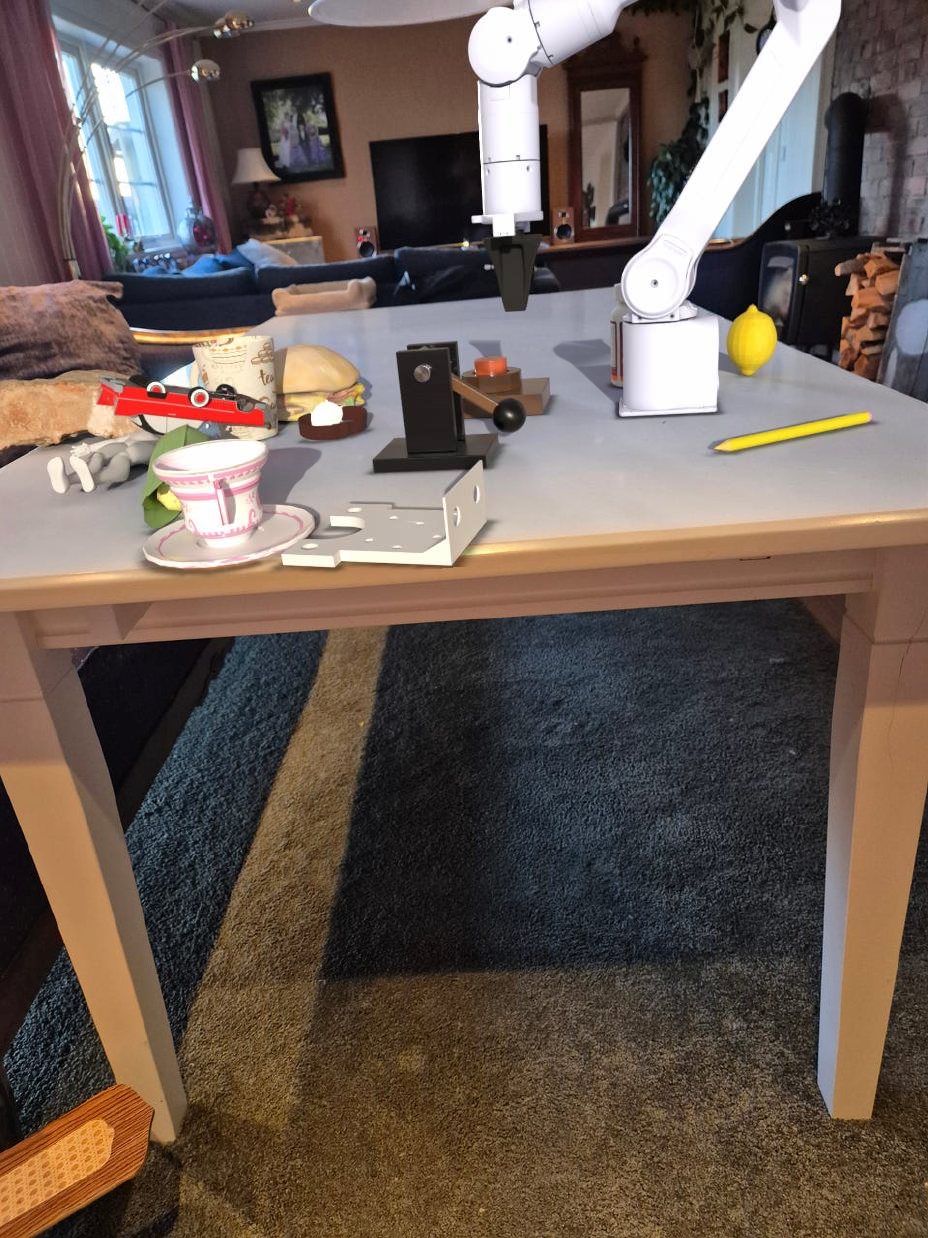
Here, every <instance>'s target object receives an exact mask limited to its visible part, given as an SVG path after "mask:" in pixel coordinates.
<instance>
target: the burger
mask: <svg viewBox="0 0 928 1238" xmlns="http://www.w3.org/2000/svg"><path fill="white" fill-rule="evenodd" d="M274 355H275V375H276V395H277V415H278V422H281V421H283V422H298V418H299V417H300V416H302V415H305V414H308V413H310V412H313V410H314V409H315V408H316V407H317V406H318V405H319V404H320V403H322V402H325V400H326V399H327V400H328V401H330V402H333V403H335V404H336V405H338V406H339V407H341V406H362V405H364V404H365V402H366V401H365V400H364V399H363V398H362V396H363V394H364V393H365V391H366V387H365V385H364V384H363V383H361V382H359V379H360V378H361V372H360V370H359V369H357V368H356V367H355V366H354V364H353V363H352V362H351V361H350V360H348V359H347V358H346V357H345V356H343V355H341V354H340V353H338V352H337V351H335V350H333V349H331V348H330V347H326V346H324V345H320V344H315V343H301V344H294V345H291V346H285V347H282V348H279V349H277V350H274Z"/></svg>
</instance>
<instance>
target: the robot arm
mask: <svg viewBox="0 0 928 1238" xmlns="http://www.w3.org/2000/svg"><path fill="white" fill-rule="evenodd" d="M638 1H639V0H513V1H512V5H513V9H512V8H509V7H506V6H494V7H491V8H490V9H488V11H487V12H486V13H485V14H484V15H483V16H482V17H480V19H478V20H477V22H476V24H474V26H473V28H472V29H471V32H470V36H469V39H468V45H467V46H468V47H467V53H468V60H469V64H470V65H471V68H472V70H473V72H474V73H475V74H476V75H477V77H479V78H480V79H479V80H477V88H478V89H477V91H478V129H479V132H478V133H479V151H480V165H481V191H482V193H481V194H482V210H483V213H482V214H481V215H472V216H471V223H472V224H482V225H492V235H493V236H492V237H483V238H482V245H483V247H484V249H485V251H486V252H487V254H488V256H489V259H490V261H491V263H492V267H493V269H494V272H495V276H496V279H497V284H498V288H499V294H500V299H501V302H502V307H503V309H504V312H505V313H511V312H513V313H514V312H515V313H516V312H525V311H526V310H527V308H528V304H529V297H530V288H531V283H532V275H533V269H534V264H535V260H536V258H537V257H536V256H537V254H538V251H539V248H540V246H541V243H542V240H543V233H533V234H532V233H530V232H531V222H536V221H543V220H544V211H543V210H542V198H541V197H542V196H541V195H542V194H541V161H540V160H541V158H540V157H541V154H540V152H541V151H540V114H539V112H540V111H539V105H538V81H537V80H538V79H539V77H540V75H542V72H543V68H544V67H546V68H548V69H550V68H552V67H554V66H555V65H557V64H559V63H561V62H563V61H564V60H566V59H568V58H569V57H571V56H574V55H575V54H576V53H578V52H580V51H582V50H584V49H586V48H587V47H589V46H591V45H593V44H595V43H596V42H599V41H600V40H601V39H604V38H605V37H608V35H610V34H612V33H613V32H614V29H615V27H616V24H617V22H618V20H619V19H618V18H619V16H620V15H621V12H622V11H623V9H624V8H627V7H628V6H630V5H632V4H634V3H636V2H638ZM772 2H773V6H774V11H775V17H776V23H775V25H774V27H773V29H772V31H771V32H770V34H769V36H768V38H767V39H766V41H765V43H764V45H763V47H762V48H761V50H760V52H759V54H758V56H757V57H756V58H755V61H754V62H753V65H752V66H751V68H750V70H749V72H748V73H747V75H746V77H745V79H744V80H743V82H742V84H741V85H740V88H739V89H738V90H737V93H736V95H735V96H734V98H733V99H732V101H731V103H730V105H729V107H728V109H727V110H726V113H725V114H724V116H723V118H722V119H721V121H720V123H719V125H718V126H717V128H716V131H715V132H714V134H713V136H712V137H711V139H710V141H709V142H708V144H707V146H706V148H705V150H704V151H703V152H702V153H703V154H702V155H701V157H700V158H699V161H698V162H697V164H696V166H695V167H694V169H693V171H692V173H691V175H690V176H689V178H688V180H687V182H686V183H685V185H684V187H683V189H682V191H681V193H680V194H679V196H678V198H677V200H676V202H675V203H674V205H673V206H672V208H671V210H670V211H669V212H668V214H667V215H666V217H665V218H664V220H663V222H662V223H661V225H660V226H659V227H658V229H657V231H656V233H655V234H654V236H653V237H652V239H651V241H650V242H649V243H648V244H647V245H646V246H645V247H644V248H643V249H641V250H640V251H638V252H637V253H636V254H634V255H633V257H631V258H630V259H629V260H628V262H627V264H626V265H625V267H624V269H623V272H622V275H621V279H620V283H621V292H622V296H623V299H624V301H625V303H626V304H627V306H628V307H629V308H630V309H631V310H630V312H629V313H627V314H624V315H623V320H624V321H623V387H622V395H623V396H621V397H620V398H619V407H618V409H619V410H618V413H619V417H624V418H625V417H644V416H662V415H665V416H666V415H681V414H683V415H684V414H704V413H716V412H718V406H717V405H718V392H719V389H720V375H719V353H720V328H719V327H720V326H719V318H718V316H717V315H698V308H697V307H695V306H694V305H693V304H692V302H691V301H690V300H688V299H687V298H688V297H689V296H690V294H691V292H692V291H693V289H694V286H695V284H696V279H697V272H698V265H699V262H700V260H701V258H702V255H703V254H704V252H705V251H706V249H707V248H708V245H709V244H710V242H711V240H712V238H713V236H714V235H715V232H716V231H717V229H718V227H719V225H720V224H721V222H722V220H723V219H724V217H725V215H726V213H727V212H728V211H729V209H730V207H731V205H732V204H733V202H734V200H735V199H736V197H737V196H738V193H739V192H740V190H741V189H742V187H743V186H744V183H745V182H746V180H747V178H748V177H749V175H750V174H751V172H752V170H753V169H754V167H755V165H756V164H757V162H758V160H759V159H760V157H761V156H762V153H764V150H765V148H766V147H767V145H768V143H769V142H770V141H771V138H772V137H773V135H774V133H775V132H776V130H777V128H778V127H779V125H780V124H781V121H782V120H783V118H784V117H785V115H786V113H787V111H788V110H789V108H790V106H791V105H792V103H793V102H794V100H795V98H796V96H797V95H798V93H799V91H800V90H801V88H802V86H803V85H804V83H805V81H806V80H807V79H808V77H809V75H810V73H811V71H812V70H813V68H814V66H815V65H816V63H817V61H818V59H819V58H820V56H821V55H822V53H823V51H824V49H825V48H826V46H827V44H828V43H829V42H830V40H831V38H832V37H833V35H834V33H835V30H836V28H837V26H838V23H839V20H840V17H841V12H842V11H841V10H842V0H772ZM525 233H530V234H525Z"/></svg>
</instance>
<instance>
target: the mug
mask: <svg viewBox="0 0 928 1238" xmlns="http://www.w3.org/2000/svg"><path fill="white" fill-rule="evenodd" d="M274 342H275V341H274V337H273V336H271V335H247V336H246V335H245V336H236V337H228V338H227V337H226V338H220V339H213V340H208V341H203V342H198V343H195V344H193V345H192V346H191V348H192V349H191V350H192V353H193V357H194V361H193V362H192V365H191V367H190V371H189V388H194V387H196V386H200V377H201V380H202V383H203V386H204V389H205V390H211V391H216V388H217V387H218V386H219V385H221V384H227V385H230V386H231V387H232V388H233V389H234V392H235V393H236V394H243V395H247V396H250V397H251V398H253V399H256V400H258V401H260V402H264V403H266V405H267V408H266V410H263V411H264V426H253V425H241V424H228V423H216V424H217V427H218V430H219V433H220V436H221V437H224V436H225V437H226V439H225V440H227V439H248V440H255V441H260V440H266V439H269V438H272V437H274V436H276V435H277V434H278V433H279V421H278V415H277V395H276V375H275V355H274V352H275V343H274Z"/></svg>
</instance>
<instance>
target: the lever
mask: <svg viewBox="0 0 928 1238" xmlns="http://www.w3.org/2000/svg"><path fill="white" fill-rule="evenodd" d="M420 349H429V348H428V347H426V346H423V347H422V348H420ZM450 363H452V362H451V361H450ZM451 374H452V373H451ZM452 386H453V391H455V392H457V393H458V394H460V395H462V396H463V397H465V398H467V399H468V400H470V401H472V402H473V403H475V404H477V405H478V406H480V407H482V408H484V409H485V410H487V411H489V412H490V413H492V417H491V420H492V423H493V425H494V427H495V428H496V429H497V430H498V431H500V432H502V433H504V434H513V433H516V432H518V431H519V430H521V429H522V428H523V426H524V425H525V423H526V420H527V415H526V410H525V408H524V406H523V404H522V403H521V402H520V401H518V400H517V399H514V398H505V399H502V400H500V401H498V400H496V399H494V398H493V397H491V396H489V395H488V394H486V393H484V392H483V391H481V390H479V389H478V388H476V387H474V386H472V385H471V384H469V383H467V382H466V381H464V380H462V379H461V378H459V377H457V376H456V375H454V374H452Z"/></svg>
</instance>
